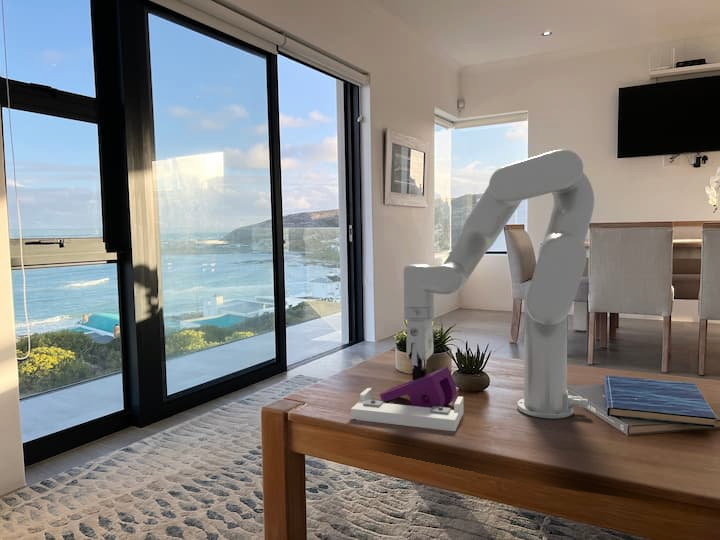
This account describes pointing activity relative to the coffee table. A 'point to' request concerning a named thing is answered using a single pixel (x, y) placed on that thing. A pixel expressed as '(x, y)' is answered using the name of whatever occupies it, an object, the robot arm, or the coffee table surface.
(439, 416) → the white bolted base plate
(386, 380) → the coffee table surface
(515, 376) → the coffee table surface
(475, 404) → the coffee table surface
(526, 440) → the coffee table surface
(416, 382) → the mounting bracket
